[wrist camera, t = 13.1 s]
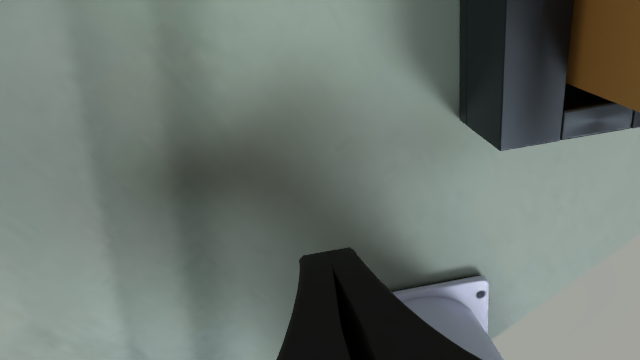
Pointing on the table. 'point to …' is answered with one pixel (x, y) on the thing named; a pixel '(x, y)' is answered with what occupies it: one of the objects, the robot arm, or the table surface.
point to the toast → (606, 50)
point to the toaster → (526, 76)
